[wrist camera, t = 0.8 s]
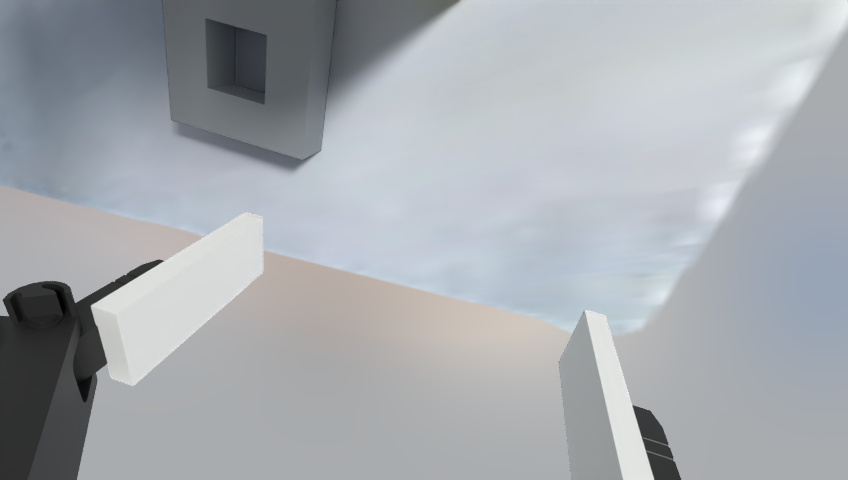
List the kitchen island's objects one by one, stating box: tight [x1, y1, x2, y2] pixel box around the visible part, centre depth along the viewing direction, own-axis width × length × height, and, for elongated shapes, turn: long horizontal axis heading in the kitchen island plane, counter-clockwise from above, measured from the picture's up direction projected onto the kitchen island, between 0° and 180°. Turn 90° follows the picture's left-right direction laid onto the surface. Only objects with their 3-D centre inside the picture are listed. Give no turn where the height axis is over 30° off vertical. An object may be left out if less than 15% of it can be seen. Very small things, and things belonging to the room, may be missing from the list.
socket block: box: [162, 0, 337, 160], centre depth 37 cm, size 14×14×4 cm
